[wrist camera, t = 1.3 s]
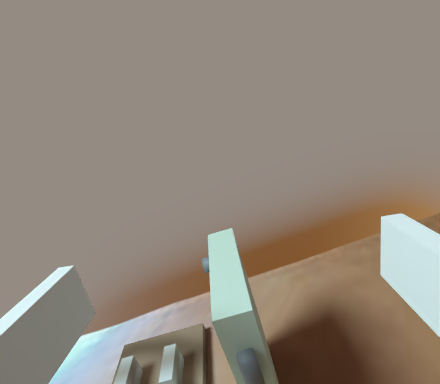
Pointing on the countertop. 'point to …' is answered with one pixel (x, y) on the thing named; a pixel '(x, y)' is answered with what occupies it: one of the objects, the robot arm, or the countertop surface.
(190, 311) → the countertop surface
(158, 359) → the hinge base
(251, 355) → the door
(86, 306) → the robot arm
